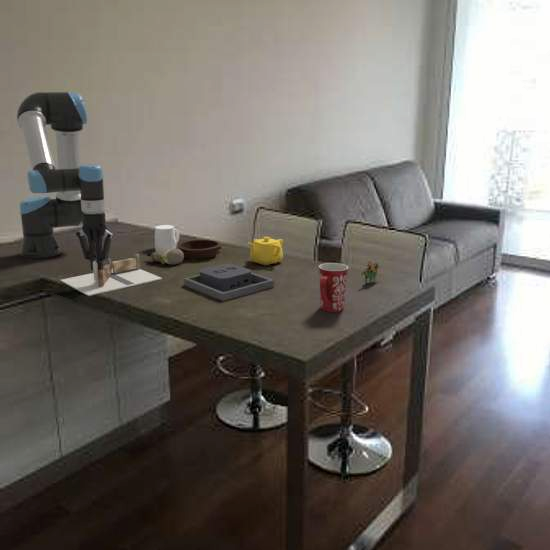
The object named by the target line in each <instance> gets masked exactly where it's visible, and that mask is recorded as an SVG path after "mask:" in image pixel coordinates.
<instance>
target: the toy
mask: <svg viewBox="0 0 550 550" xmlns="http://www.w3.org/2000/svg"><path fill="white" fill-rule="evenodd" d="M146 256H147V257H149V258H151V261H155V262H159V263H161V264H162V265H165V263H166V264H167V265H179V264H180V263H182V262H183V261H184V259H185V258H184V254H183V252H182V251H181V250H179V248H175V249H170V250H168V251H167V250H158V251H157V250H155V251H154V252H149V253H148V254H147V255H146Z"/></svg>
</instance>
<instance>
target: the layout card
mask: <svg viewBox="0 0 550 550" xmlns="http://www.w3.org/2000/svg"><path fill="white" fill-rule="evenodd" d="M161 280H163V278H162V277H160V276H158V275H156V274H153V273H151V272H148V271H146V270H143V269H141V268H140V269H133V270H128V271H123V272H119V273H113V270H112V275H111V276H110V277H109V278H108V280H107V281H106V282H105V284H104V286H99V285H98V281H94V273H87V274H86V273H85V274H82V275H77V276H72V277H68V278H62V279H60V282H61V283H64V284H66V285H67V286H69V287H71V288H73V289H74V290H76V291H78V292H80V293H82V294H84V295H86V296H87V297H91V296H95V295H99V294H105V293H107V292H112V291H116V290H120V289H125V288H130V287H134V286H139V285H143V283H144V284H147V283H150V282H157V281H161Z"/></svg>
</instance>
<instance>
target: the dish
mask: <svg viewBox="0 0 550 550" xmlns="http://www.w3.org/2000/svg"><path fill="white" fill-rule="evenodd" d="M176 245H177V246H176V248H177V249H179V250H181V251H182V252H183V254H184V259H188V260H205V259H211V258H213V257H215V256H216V255H217V254H218V253H219V250H222V243H221V242H220V241H216V240H212V239H211V240H210V239H190V240H185V241H182V242H179V243H177V244H176Z"/></svg>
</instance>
